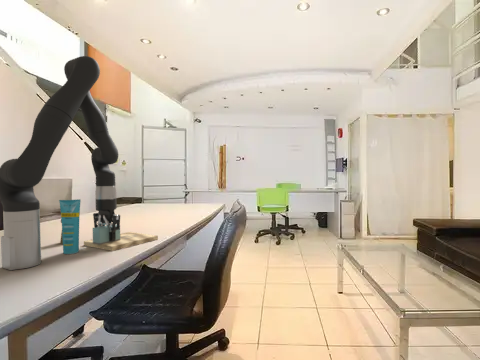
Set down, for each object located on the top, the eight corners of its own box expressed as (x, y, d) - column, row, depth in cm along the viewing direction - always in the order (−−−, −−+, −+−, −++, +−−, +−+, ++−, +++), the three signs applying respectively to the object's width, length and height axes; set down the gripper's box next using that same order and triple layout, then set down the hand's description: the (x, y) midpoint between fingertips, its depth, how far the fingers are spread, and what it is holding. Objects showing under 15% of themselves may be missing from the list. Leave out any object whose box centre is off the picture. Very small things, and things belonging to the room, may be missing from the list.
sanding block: (99, 244, 114) (99, 228, 114) (92, 243, 116) (92, 227, 116) (120, 240, 121) (120, 225, 121) (113, 238, 124) (113, 224, 124)
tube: (57, 254, 106) (55, 200, 106) (63, 251, 111) (62, 199, 110) (79, 253, 107) (78, 199, 107) (84, 250, 112) (83, 198, 111)
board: (112, 250, 111) (112, 246, 111) (83, 245, 120) (83, 241, 120) (157, 239, 129) (157, 235, 129) (130, 235, 139) (129, 231, 139)
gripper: (86, 197, 119) (87, 240, 119) (108, 199, 111) (110, 244, 112) (103, 196, 125) (104, 236, 126) (126, 197, 118) (127, 240, 118)
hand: (107, 239), depth 119 cm, fingers open, 6 cm apart
